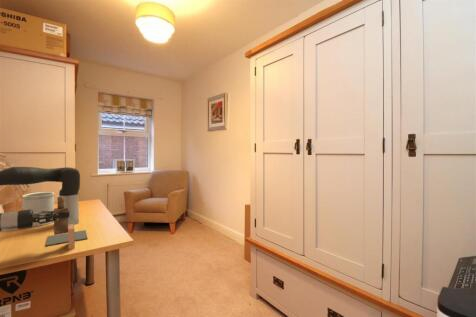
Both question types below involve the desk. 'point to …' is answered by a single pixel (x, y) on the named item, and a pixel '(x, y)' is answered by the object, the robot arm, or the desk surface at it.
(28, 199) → the utensil holder
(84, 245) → the desk surface
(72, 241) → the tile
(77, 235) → the tool mat
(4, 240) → the desk surface
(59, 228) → the paddle
